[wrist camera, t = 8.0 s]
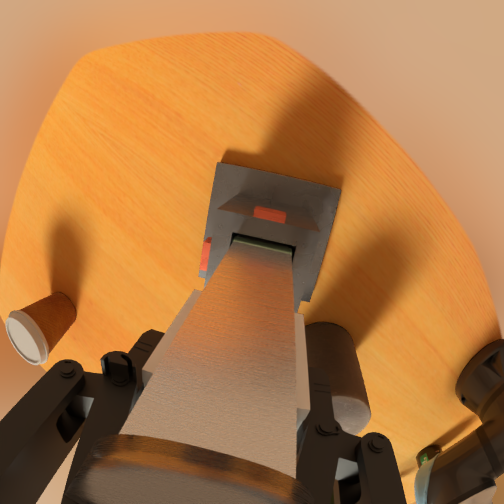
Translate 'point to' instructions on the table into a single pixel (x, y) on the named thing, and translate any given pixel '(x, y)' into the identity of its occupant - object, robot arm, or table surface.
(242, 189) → the jack stand
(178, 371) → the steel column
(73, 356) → the table surface
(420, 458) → the supplement bottle
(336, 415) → the pillar candle
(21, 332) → the disposable coffee cup
